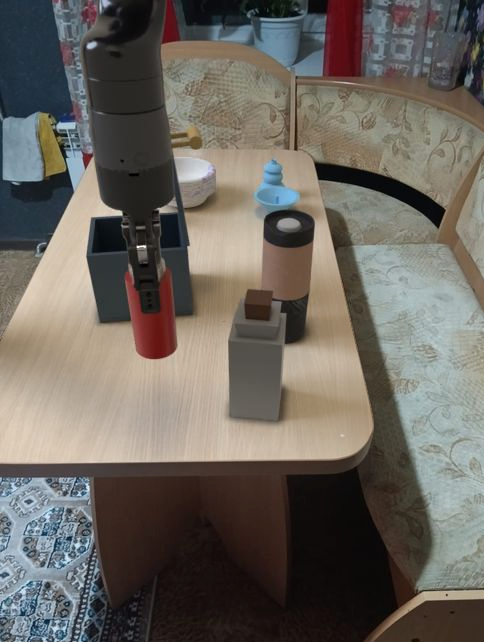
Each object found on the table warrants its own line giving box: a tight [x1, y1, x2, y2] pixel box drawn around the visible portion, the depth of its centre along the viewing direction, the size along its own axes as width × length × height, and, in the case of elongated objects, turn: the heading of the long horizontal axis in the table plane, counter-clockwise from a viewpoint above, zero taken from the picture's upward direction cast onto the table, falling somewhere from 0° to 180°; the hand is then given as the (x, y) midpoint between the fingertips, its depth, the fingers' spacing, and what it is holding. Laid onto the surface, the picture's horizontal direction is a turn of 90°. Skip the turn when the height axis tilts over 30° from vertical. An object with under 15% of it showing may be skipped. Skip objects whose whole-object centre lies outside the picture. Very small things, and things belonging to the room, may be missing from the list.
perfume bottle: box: [227, 288, 286, 422], centre depth 72 cm, size 7×7×18 cm
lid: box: [170, 125, 203, 247], centre depth 86 cm, size 16×14×5 cm
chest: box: [85, 211, 193, 324], centre depth 94 cm, size 16×14×13 cm
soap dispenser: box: [253, 158, 301, 214], centre depth 125 cm, size 18×10×9 cm, turn 5°
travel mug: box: [260, 209, 316, 344], centre depth 85 cm, size 8×8×20 cm
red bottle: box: [125, 258, 178, 360], centre depth 64 cm, size 5×5×12 cm
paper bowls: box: [167, 156, 217, 209], centre depth 127 cm, size 15×15×8 cm
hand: (150, 296), depth 63 cm, fingers closed on red bottle, 5 cm apart
